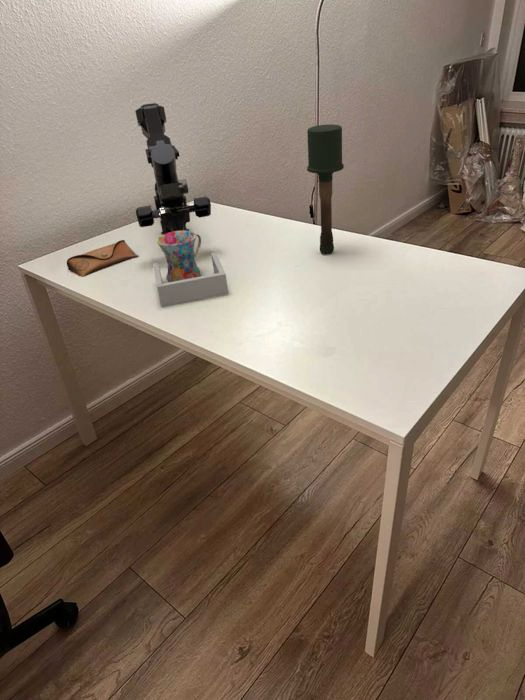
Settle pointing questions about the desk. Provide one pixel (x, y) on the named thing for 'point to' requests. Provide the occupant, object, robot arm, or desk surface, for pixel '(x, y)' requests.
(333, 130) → the stick grenade
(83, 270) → the sunglasses case
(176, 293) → the grey open tray
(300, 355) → the desk surface
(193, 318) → the desk surface
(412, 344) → the desk surface
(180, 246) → the mug
